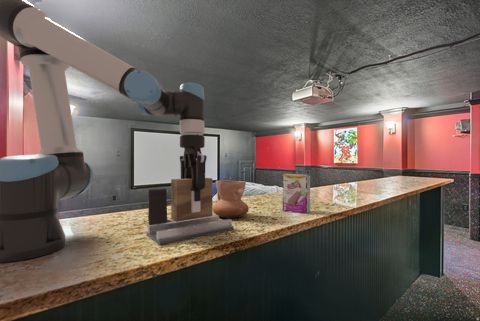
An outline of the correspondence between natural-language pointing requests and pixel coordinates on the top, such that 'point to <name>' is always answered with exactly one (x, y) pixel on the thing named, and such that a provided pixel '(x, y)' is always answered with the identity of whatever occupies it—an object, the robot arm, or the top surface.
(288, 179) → the candy bar box
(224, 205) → the ceramic jug
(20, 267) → the top surface
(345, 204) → the top surface
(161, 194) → the door stopper
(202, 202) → the brown wooden block
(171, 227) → the door track
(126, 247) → the top surface
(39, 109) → the robot arm
